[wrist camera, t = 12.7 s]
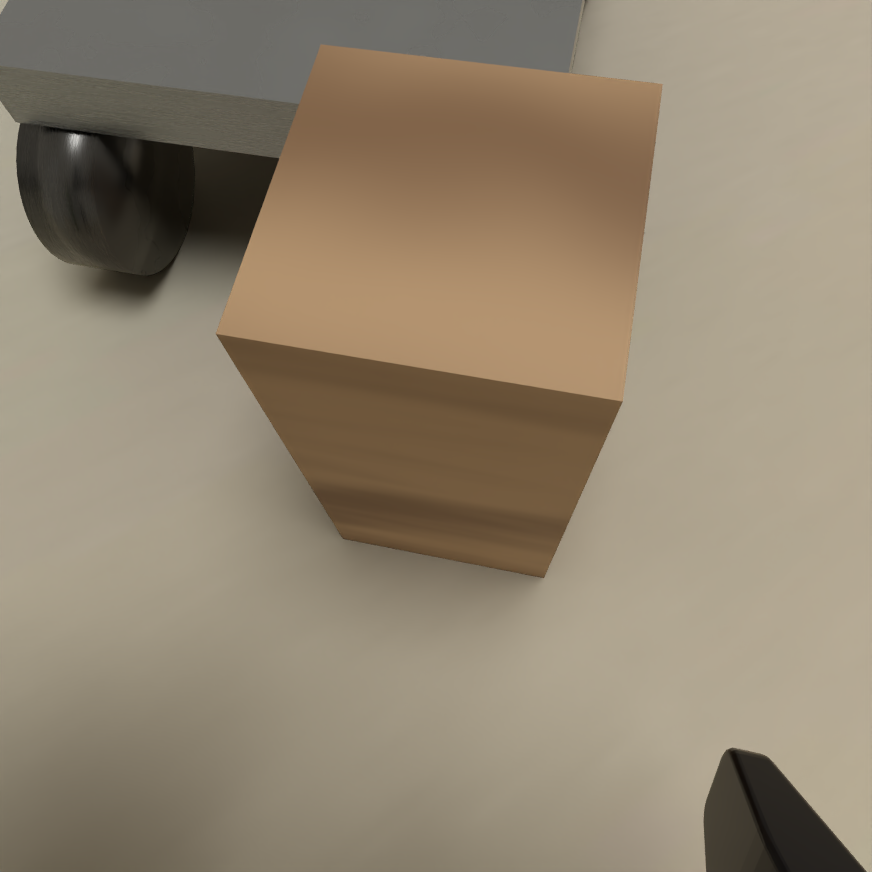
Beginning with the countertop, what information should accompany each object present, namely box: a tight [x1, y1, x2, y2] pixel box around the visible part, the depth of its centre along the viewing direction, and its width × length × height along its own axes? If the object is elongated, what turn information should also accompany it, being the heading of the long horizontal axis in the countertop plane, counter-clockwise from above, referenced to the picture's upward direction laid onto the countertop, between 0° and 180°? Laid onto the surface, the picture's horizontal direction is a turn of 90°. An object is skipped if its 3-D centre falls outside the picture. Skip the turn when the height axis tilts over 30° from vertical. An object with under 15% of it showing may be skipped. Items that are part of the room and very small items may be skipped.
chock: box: [216, 44, 663, 578], centre depth 17 cm, size 6×6×12 cm
